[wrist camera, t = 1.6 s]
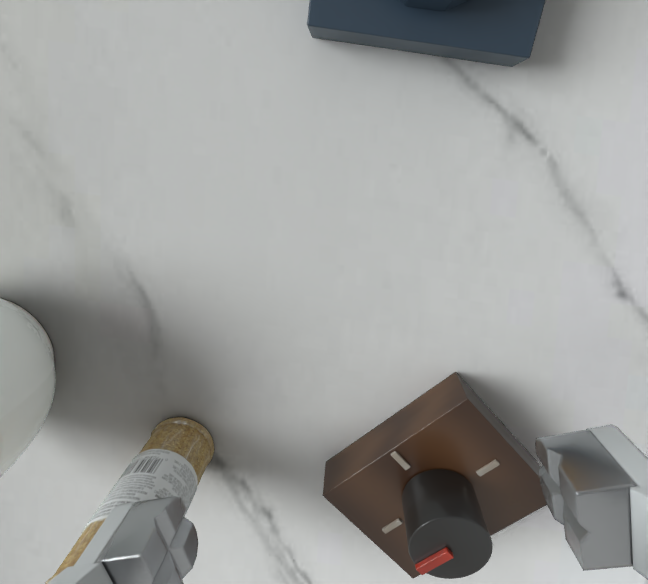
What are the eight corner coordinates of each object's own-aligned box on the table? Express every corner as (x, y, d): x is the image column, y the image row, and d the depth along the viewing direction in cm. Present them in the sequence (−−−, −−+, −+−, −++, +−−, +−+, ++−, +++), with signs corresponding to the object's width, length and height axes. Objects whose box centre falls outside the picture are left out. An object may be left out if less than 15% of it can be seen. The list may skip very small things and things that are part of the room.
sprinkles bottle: (157, 466, 30) (15, 696, 18) (148, 412, 29) (-14, 620, 16) (220, 469, 30) (120, 705, 17) (214, 415, 29) (100, 629, 16)
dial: (445, 456, 25) (460, 508, 21) (489, 502, 26) (512, 560, 22) (386, 493, 26) (392, 548, 22) (431, 536, 27) (443, 596, 23)
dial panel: (455, 371, 26) (468, 400, 23) (538, 462, 28) (560, 500, 25) (325, 461, 29) (322, 497, 26) (407, 539, 31) (413, 581, 28)
